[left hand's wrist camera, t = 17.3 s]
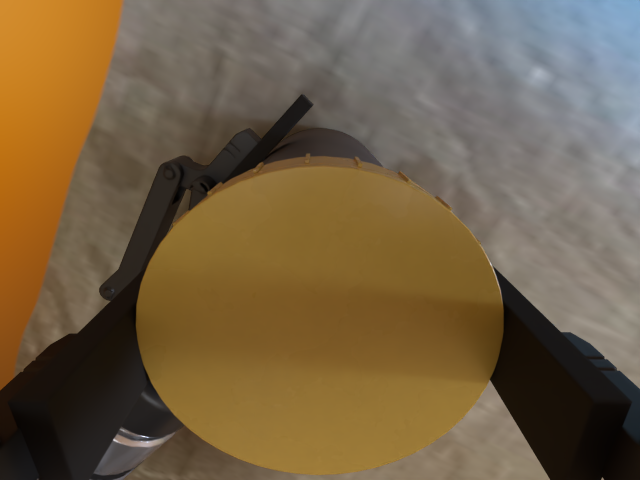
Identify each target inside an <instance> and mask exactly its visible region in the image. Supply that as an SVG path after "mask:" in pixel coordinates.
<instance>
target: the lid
mask: <svg viewBox="0 0 640 480" xmlns="http://www.w3.org/2000/svg"><path fill="white" fill-rule="evenodd" d="M207 194H208V195H207V196H206V197H205V198H204V199H203V200H202V201H201V202H199V203H198V204H197V205H196V206H195V207H194V208H193V209H191V210H190V211H189V210H188V211H187V212H186V213H184V214H183V215H182V216H181V217H180V218H179V219H177V220H176V221H175V222H174V223H173V224H172V225H173V228H172V229H171V230H170V231H169V233H168V234H167V235H166V236H165V238H164V239H163V240H162V241H161V243H160V244H159V246H158V248H157V249H156V251H155V253H154V255H153V256H152V258H151V260H150V262H149V263H148V266H147V269H146V271H145V274H144V277H143V279H142V282H141V285H140V290H139V295H138V300H137V307H136V332H137V340H138V345H139V350H140V354H141V358H142V362H143V365H144V367H145V370H146V372H147V374H148V376H149V379H150V381H151V383H152V385H153V386H154V388H155V390H156V391H157V393H158V394H159V396H160V398H161V399H162V401H163V402H164V403H165V404H166V406H167V407H168V408H169V409H170V410H171V412H172V413H173V414H174V415H175V416H176V417H177V418H178V419H179V420H180V421H181V422H182V423H183V424H184V425H185V426H186V427H187V428H188V429H190V430H191V431H192V432H193V433H195V434H196V435H197V436H199V437H200V438H201V439H203V440H204V441H206V442H207V443H209V444H211V445H212V446H214V447H216V448H217V449H219V450H221V451H223V452H225V453H227V454H229V455H231V456H233V457H235V458H237V459H240V460H243V461H246V462H248V463H251V464H254V465H257V466H260V467H264V468H268V469H272V470H277V471H283V472H289V473H296V474H311V475H328V474H343V473H351V472H358V471H362V470H367V469H372V468H376V467H379V466H382V465H385V464H389V463H392V462H395V461H397V460H400V459H402V458H404V457H406V456H409V455H411V454H413V453H415V452H417V451H419V450H421V449H422V448H424V447H426V446H428V445H429V444H431V443H433V442H434V441H435V440H437V439H438V438H440V437H441V436H442V435H444V434H445V433H447V432H448V431H449V430H450V429H451V428H452V427H453V426H455V425H456V424H457V423H458V422H459V421H460V420H461V419H462V418H463V417H464V416H465V415H466V414H467V412H468V411H469V410H470V409H471V408H472V407H473V406H474V404H475V403H476V402H477V400H478V399H479V397H480V396H481V394H482V393H483V391H484V390H485V388H486V386H487V384H488V382H489V380H490V378H491V376H492V374H493V372H494V370H495V367H496V363H497V360H498V357H499V353H500V348H501V344H502V338H503V332H504V309H503V303H502V296H501V290H500V287H499V284H498V280H497V277H496V274H495V271H494V268H493V266H492V265H491V263H490V261H489V259H488V257H487V255H486V253H485V251H484V249H483V248H482V246H481V245H480V244H481V243H480V241H479V240H478V239H477V238H475V237H474V235H473V234H472V233H471V231H470V230H469V229H468V228H467V227H466V226H465V225H464V224H463V223H462V222H461V221H460V220H459V219H458V218H457V217H456V216H455V215H454V214H453V213H452V212H451V210H452V208H451V207H450V206H449V205H448V204H446V203H445V202H444V201H443V200H442V199H440V198H439V197H438V196H436V197H434V196H432V195H431V194H430V193H428V192H427V191H426V190H424V189H423V188H421V187H420V186H419V185H417V184H416V183H414V182H413V181H411V180H410V179H409V178H408V177H407V176H406V175H405V174H404V173H403V172H401V171H399V173H396V172H394V171H391V170H388V169H386V168H383V167H380V166H377V165H375V164H372V163H368V162H363V161H360V159H359V158H358V157H354V159H350V158H340V157H329V156H314V157H310V153H309V154H306V157H297V158H292V159H286V160H281V161H275V162H272V163H269V164H266V165H264V164H263V162H261V163H259V164H258V165H257V166H256V168H253V169H251V170H249V171H247V172H245V173H243V174H240V175H238V176H236V177H234V178H232V179H230V180H229V181H227V182H226V183H224V184H222V182H220V183H218V184H217V185H216V186H215V187H214V188H212V189H211V190H210V191H209V192H208V193H207Z"/></svg>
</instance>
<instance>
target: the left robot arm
mask: <svg viewBox="0 0 640 480" xmlns="http://www.w3.org/2000/svg"><path fill="white" fill-rule="evenodd" d="M147 266H148V265H147ZM147 266H146V267H145V268H144V269H143V270H142V271H141V272H140V273H139V274H138V275H137V276H136V277H135V278H134V279H133V280H132V281H131V282H130V283H129V284H128V285H127V286H126V287H125V288H124V289H123V290H122V291H121V292H120V293H119V294H118V295H117V296H116V297H115V298H114V299H113V300H112V301H110V302H109V303H108V304H107V305H106V306H105V307H104V308H103V309H102V310H101V311H100V312H99V313H98V314H97V315H96V316H95V317H94V318H93V319H92V320H91V321H90V322H89V323H88V324H87V325H86V326H85V327H84V328H83V329H82V330H81V331H80V332H79V333H78V334H68V335H66V336H65V337H63V338H61V339H60V340H58V341H56V342H54V343H53V344H51V345H50V346H48V347H47V348H46V349H45V350H44V351H43V352H42V353H41V354H40V355H39V356H38V357H36V360H35V361H32V362H31V363H30V364H29V365H28V366H27V367H26V368H24V371H23V372H20V373H19V374H18V375H17V376H16V377H15V378H14V379H12V380H11V381H10V382H9V383H8V384H7V385H6V386H5V387H4V388H3V389H2V390H0V480H37V479H39V480H90V478H91V476H92V475H93V473H94V471H95V470H96V468H97V466H98V465H99V463H100V461H101V460H102V458H103V456H104V455H105V453H106V451H107V450H108V448H109V446H110V445H111V443H112V441H113V440H114V438H115V436H116V435H117V433H118V432H119V430H120V428H121V427H122V425H123V423H124V422H125V420H126V418H127V417H128V415H129V413H130V412H131V410H132V408H133V407H134V405H135V403H136V402H137V400H138V398H139V397H140V395H141V393H142V392H143V390H144V388H145V387H146V385H147V383H148V382H149V380H150V379H149V376H148V374H147V372H146V370H145V367H144V365H143V362H142V358H141V354H140V350H139V345H138V340H137V332H136V307H137V300H138V295H139V290H140V285H141V282H142V279H143V277H144V274H145V271H146V269H147ZM493 268H494V267H493ZM494 271H495V274H496V277H497V280H498V284H499V287H500V290H501V296H502V303H503V309H504V332H503V338H502V344H501V348H500V353H499V357H498V360H497V363H496V367H495V370H494V372H493V374H492V376H491V378H490V381H491V382H492V384H493V385H494V387H495V389H496V390H497V392H498V394H499V395H500V397H501V399H502V400H503V402H504V404H505V405H506V407H507V409H508V410H509V412H510V414H511V415H512V417H513V419H514V420H515V422H516V424H517V425H518V427H519V429H520V430H521V432H522V434H523V435H524V437H525V439H526V440H527V442H528V444H529V445H530V447H531V448H532V450H533V452H534V453H535V455H536V457H537V458H538V460H539V462H540V463H541V465H542V467H543V468H544V470H545V472H546V473H547V475H548V477H549V478H550V480H601V478H602V477H603V479H604V480H640V389H639V388H638V387H637V386H636V385H635V384H634V383H633V382H631V381H630V380H629V379H628V378H627V377H626V376H625V375H624V374H623V373H622V372H620V371H617V369H616V367H615V366H614V365H613V364H612V363H611V362H610V361H608V360H607V359H604V356H603V355H602V354H601V353H600V352H599V351H597V350H596V349H595V348H594V347H593V346H592V345H591V344H590V343H588V342H586V341H584V340H583V339H581V338H579V337H578V336H576V335H574V334H572V333H571V332H560V331H559V330H558V329H557V328H556V327H555V326H554V325H553V324H552V323H551V322H550V321H549V320H548V319H547V318H546V317H545V316H544V315H543V314H542V313H541V312H540V311H539V310H537V309H536V308H535V307H534V306H533V305H532V304H531V303H530V302H529V301H528V300H527V299H526V298H525V297H524V296H523V295H522V294H521V293H520V292H519V291H518V290H517V289H516V288H515V287H514V286H513V285H512V284H511V283H510V282H509V281H508V280H507V279H506V278H505V277H504V276H503V275H502V274H500V273H499V272H498V271H497V270H496V269H495V268H494Z"/></svg>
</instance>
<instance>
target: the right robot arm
mask: <svg viewBox="0 0 640 480" xmlns="http://www.w3.org/2000/svg"><path fill="white" fill-rule="evenodd" d="M312 106H313V104H312V103H311V102H310V101H309V100H308V99H307V98H306V97H305V95H301V96H300V97H299V98H298V99H297V100H296V101H295V102H294V103H293V105H292V106H291V107H290V108H289V109H288V110H287V111H286V112H285V113H284V115H283V116H282V117H281V118H280V119H279V120H278V121H277V122H276V124H275V125H274V126H273V127H272V128H271V129H270V130H269V131H268V132H267V134H266V135H265V136H264V137H263V138H262V139H261V138H260V137H259V136H258V135H257V134H256V133H254V132H253V131H252V130H251V129H250V128H248V129H246V130H244V131H242V132H240V133H238V134H236V135H235V136H234V137H233V138H232V139H231V141H230V142H229V143H228V144H227V145H226V146H225V148H224V149H223V150H222V151H221V152H220V153H219V154H218V156H217V157H216V158H215V159H214V160H213V161H212V162H211V164H210V165H208V166H204V165H200V164H198V163H196V162H194V161H193V160H192V159H191V158H190V157H188V156H180V157H177V158H175V159H172V160H170V161H168V162H165V163H163V164H162V165H161V166H160V167H159V169H158V171H157V174H156V176H155V179H154V181H153V184H152V187H151V189H150V192H149V194H148V197H147V199H146V202H145V204H144V207H143V209H142V212H141V214H140V217H139V219H138V222H137V224H136V227H135V229H134V232H133V234H132V237H131V239H130V242H129V244H128V247H127V249H126V252H125V254H124V257H123V259H122V262H121V264H120V267H119V269H118V270H117V271H116V272H115V273H114V274H113V275H112V276H111V277H110V278H109V279H108V280H107V281H106V282H104V283H103V284H102V285H101V287H100V288H99V292H100V295H101V296H102V297H103V298H104V299H106V300H109V301H112V300H113V299H114V298H115V297H116V296H117V295H118V294H119V293H120V292H121V291H122V290H123V289H124V288H125V287H126V286H127V285H128V284H129V283H130V282H131V281H132V280H133V279H134V278H135V277H136V276H137V275H138V274H139V273H140V272H141V271H142V270H143V269H144V268H145V267H146V266H147V265H148V263H149V262H150V260H151V258H152V256H153V255H154V253H155V251H156V249H157V248H158V246H159V244H160V243H161V241H162V240H163V239H164V238H165V236H166V235H167V232H168V230H169V228H170V226H171V223H172V221H173V219H174V216H175V214H176V212H177V209H178V207H179V205H180V203H181V200H182V198H183V196H184V193H185V191H186V189H189V190H191V191H192V192H191V198H190V205H189V211H190V210H191V209H193V208H194V207H195V206H196V205H197V204H198V203H199V202H201V201H202V200H203V199H204V198H205V197H206V196H207V195H208V194H207V193H208V192H209V191H210V190H211V189H212V188H214V187H215V186H216V185H217V184H218V183H220V182H222V184H224V183H226V182H227V181H229V180H230V179H232V178H234V177H236V176H238V175H240V174H243V173H245V172H247V171H249V170H251V169H253V168H256V166H257V165H258V164H259V163H261V162H262V161H263V159H264V158H265V157H266V156H267V155H268V154H269V153H270V152H271V151H272V150H273V148H274V147H275V146H276V145H277V144H278V143H279V142H280V141H281V140H282V139H283V138H284V136H285V135H286V134H287V133H288V132H289V131H290V130H291V129H292V128H293V127H294V126H295V124H296V123H297V122H298V121H299V120H300V119H301V118H302V117H303V116H304V115H305V114H306V112H307V111H308V110H309V109H310V108H311V107H312ZM183 426H184V424H183V423H182V422H181V421H180V420H179V419H178V418H177V417H176V416H175V415H174V414H173V413H172V412H171V410H170V409H169V408H168V407H167V406H166V404H165V403H164V402H163V401H162V399H161V398H160V396H159V394H158V393H157V391H156V390H155V388H154V386H153V385H152V383H151V381H150V380H149V382H148V383H147V385H146V387H145V388H144V390H143V392H142V393H141V395H140V397H139V398H138V400H137V402H136V403H135V405H134V407H133V408H132V410H131V412H130V413H129V415H128V417H127V418H126V420H125V422H124V423H123V425H122V427H121V428H120V430H119V432H118V433H117V435H116V436H115V438H114V440H113V441H112V443H111V445H110V446H109V448H108V450H107V451H106V453H105V455H104V456H103V458H102V460H101V461H100V463H99V465H98V466H97V468H96V470H95V471H94V473H93V475H92V476H91V478H90V480H123V479H124V478H125V477H126V476H127V475H128V474H129V473H130V472H132V471H133V470H134V469H135V468H136V467H137V466H138V465H139V464H141V463H142V462H143V461H144V460H145V459H146V458H147V457H148V456H149V455H151V454H152V453H153V452H154V451H155V450H157V449H158V448H159V447H160V446H161V445H163V444H164V443H165V442H166V441H167V440H169V439H170V438H171V437H172V436H173V435H174V434H175V433H176V432H177V431H178V430H179V429H180V428H182V427H183ZM37 480H39V479H37Z"/></svg>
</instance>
